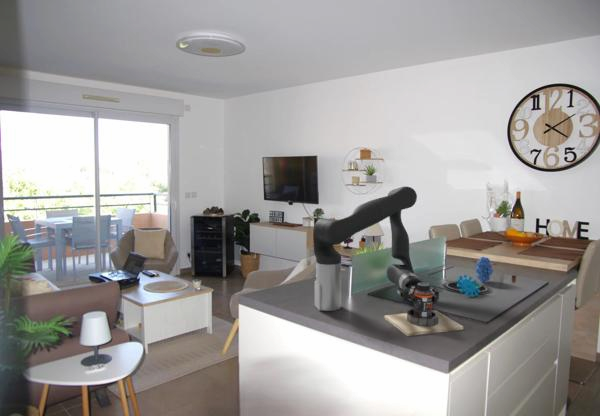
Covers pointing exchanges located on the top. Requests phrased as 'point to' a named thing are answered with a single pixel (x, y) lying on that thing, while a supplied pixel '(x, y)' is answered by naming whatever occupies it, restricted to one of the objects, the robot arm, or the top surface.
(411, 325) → the birch board
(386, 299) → the top surface
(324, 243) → the robot arm
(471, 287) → the gear
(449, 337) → the top surface
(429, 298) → the supplement bottle
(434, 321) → the metal collar
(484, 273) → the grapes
